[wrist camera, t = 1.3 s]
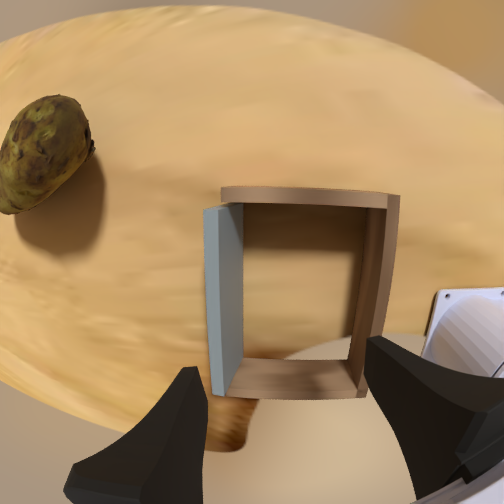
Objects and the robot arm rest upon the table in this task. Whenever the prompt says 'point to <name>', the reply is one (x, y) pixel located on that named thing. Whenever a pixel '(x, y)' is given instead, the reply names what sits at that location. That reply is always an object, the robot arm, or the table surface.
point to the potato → (42, 151)
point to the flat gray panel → (224, 291)
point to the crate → (367, 311)
